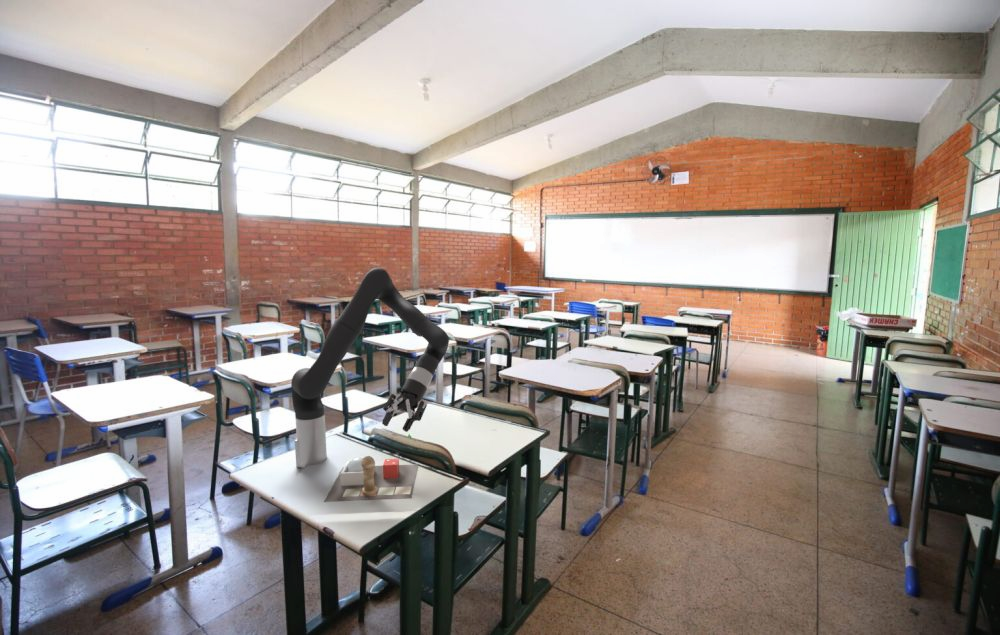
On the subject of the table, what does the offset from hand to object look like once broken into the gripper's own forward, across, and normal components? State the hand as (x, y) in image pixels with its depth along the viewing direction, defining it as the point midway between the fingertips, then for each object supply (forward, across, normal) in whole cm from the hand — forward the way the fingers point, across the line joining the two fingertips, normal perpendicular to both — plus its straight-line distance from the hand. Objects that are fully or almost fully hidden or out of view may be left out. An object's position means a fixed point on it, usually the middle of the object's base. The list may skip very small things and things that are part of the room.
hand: (394, 427), depth 148 cm
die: (+12, +1, -11) cm, 16 cm away
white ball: (+17, +8, -6) cm, 19 cm away
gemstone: (-1, +12, -28) cm, 30 cm away
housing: (+17, +8, -6) cm, 20 cm away
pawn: (+20, -1, -2) cm, 20 cm away
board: (+17, +2, -8) cm, 19 cm away
